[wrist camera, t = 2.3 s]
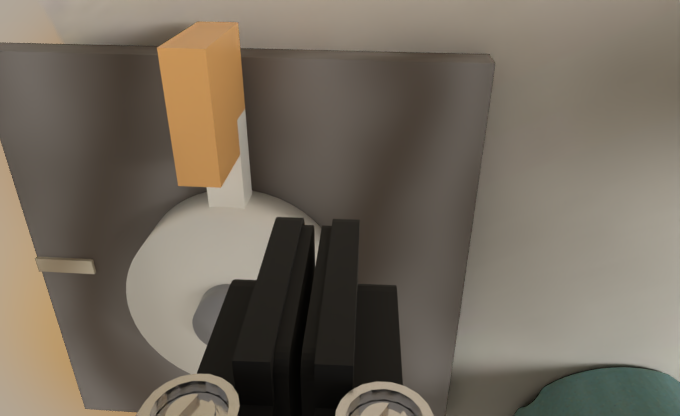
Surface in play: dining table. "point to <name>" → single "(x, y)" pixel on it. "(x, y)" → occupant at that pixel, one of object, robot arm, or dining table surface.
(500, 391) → the dining table surface
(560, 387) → the flower pot
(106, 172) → the dial board
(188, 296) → the white handled round piece
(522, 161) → the dining table surface
